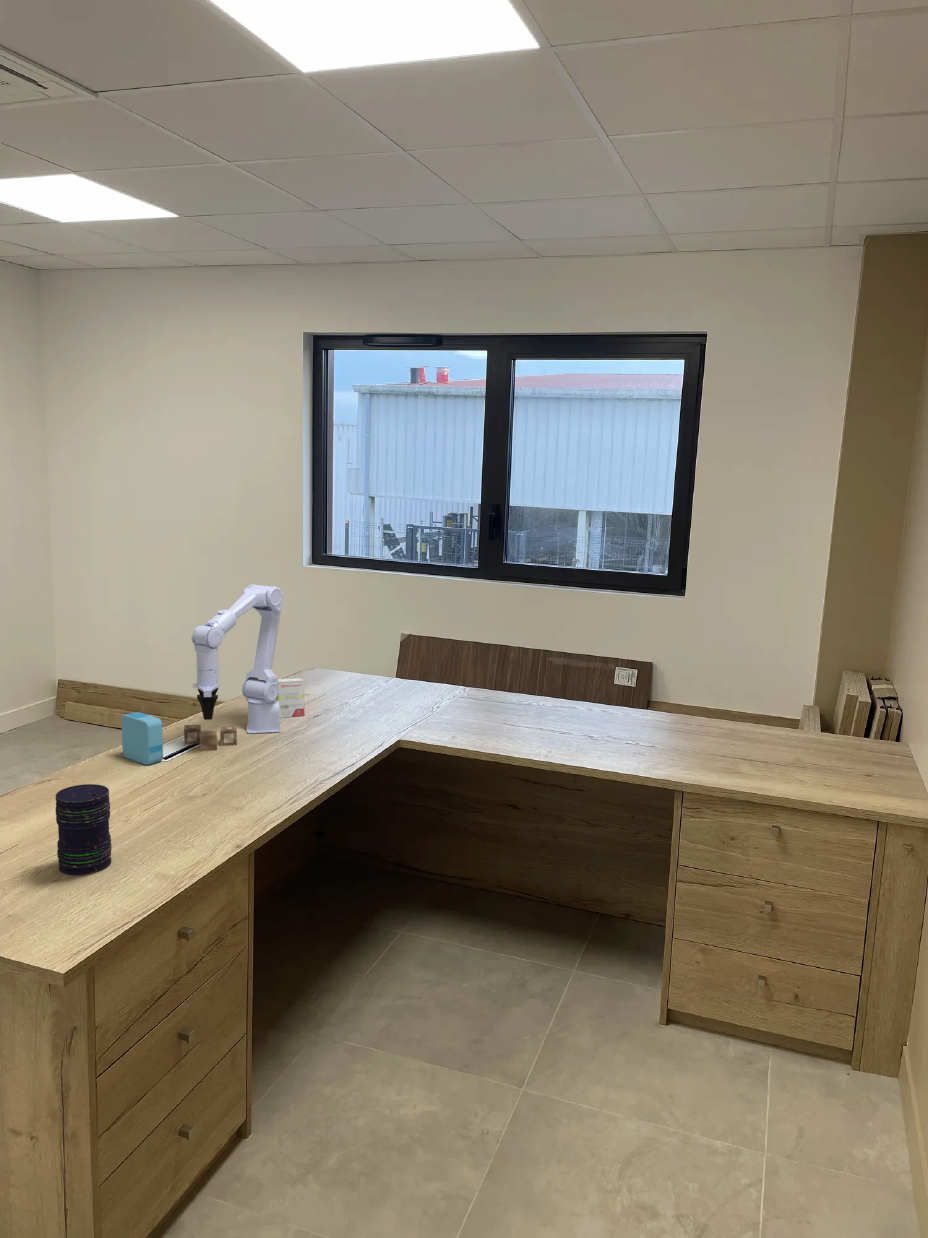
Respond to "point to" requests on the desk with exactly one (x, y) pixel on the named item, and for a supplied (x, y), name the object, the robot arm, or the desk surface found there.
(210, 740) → the plain block
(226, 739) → the marked block 2
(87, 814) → the dark blue barrel
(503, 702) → the desk surface
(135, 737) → the data package
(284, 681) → the ink box
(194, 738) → the marked block 1
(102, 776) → the desk surface
